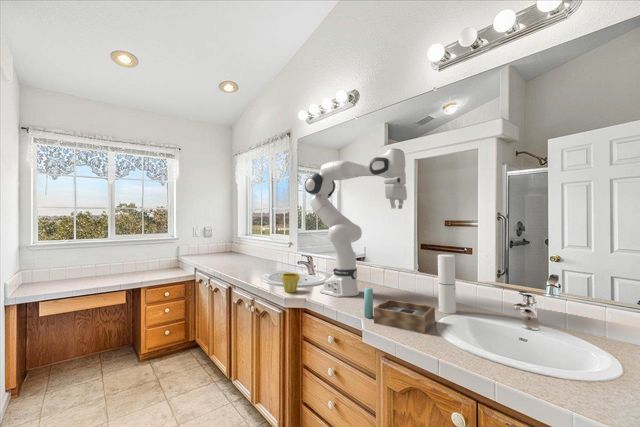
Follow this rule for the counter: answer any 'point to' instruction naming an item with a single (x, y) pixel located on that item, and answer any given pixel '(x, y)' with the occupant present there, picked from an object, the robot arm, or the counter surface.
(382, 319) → the box
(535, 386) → the counter surface
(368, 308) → the peg
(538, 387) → the counter surface
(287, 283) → the plant pot
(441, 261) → the cylindrical container
